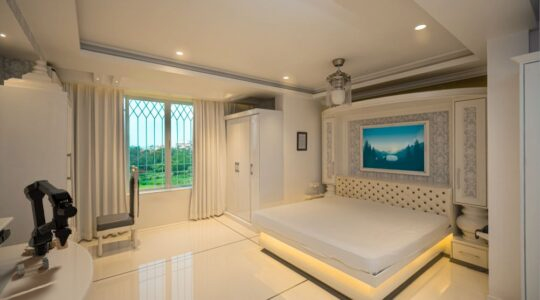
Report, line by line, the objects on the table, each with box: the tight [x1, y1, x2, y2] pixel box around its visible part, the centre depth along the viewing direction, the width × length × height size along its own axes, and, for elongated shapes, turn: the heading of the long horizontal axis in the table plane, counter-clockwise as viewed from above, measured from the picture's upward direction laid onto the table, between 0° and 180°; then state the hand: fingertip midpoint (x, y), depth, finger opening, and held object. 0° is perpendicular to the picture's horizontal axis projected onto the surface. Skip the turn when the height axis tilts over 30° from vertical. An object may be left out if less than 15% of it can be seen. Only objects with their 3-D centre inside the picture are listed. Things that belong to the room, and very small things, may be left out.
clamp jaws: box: [17, 256, 50, 278], centre depth 118 cm, size 6×10×4 cm, turn 137°
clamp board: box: [18, 262, 50, 280], centre depth 118 cm, size 12×10×1 cm
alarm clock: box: [23, 238, 57, 255], centre depth 144 cm, size 11×5×15 cm
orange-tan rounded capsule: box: [55, 237, 69, 251], centre depth 125 cm, size 4×4×6 cm
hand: (62, 245), depth 125 cm, fingers closed on orange-tan rounded capsule, 4 cm apart
